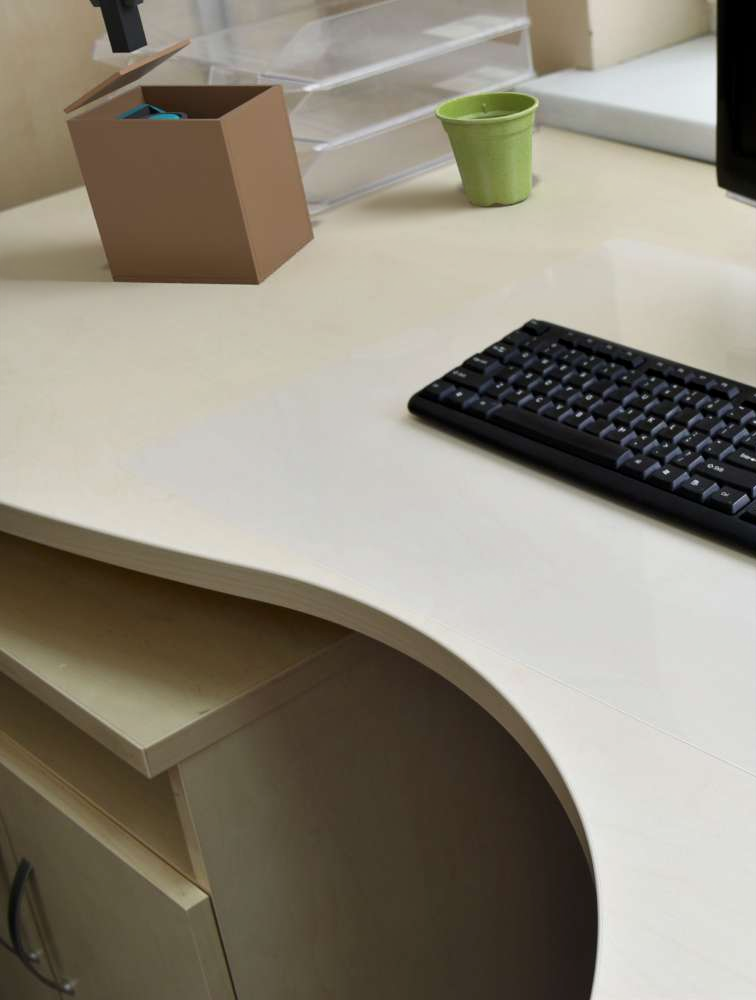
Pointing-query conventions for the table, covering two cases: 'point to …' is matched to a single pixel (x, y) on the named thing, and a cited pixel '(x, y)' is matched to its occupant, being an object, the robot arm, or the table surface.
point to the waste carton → (194, 183)
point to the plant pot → (492, 144)
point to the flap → (126, 76)
